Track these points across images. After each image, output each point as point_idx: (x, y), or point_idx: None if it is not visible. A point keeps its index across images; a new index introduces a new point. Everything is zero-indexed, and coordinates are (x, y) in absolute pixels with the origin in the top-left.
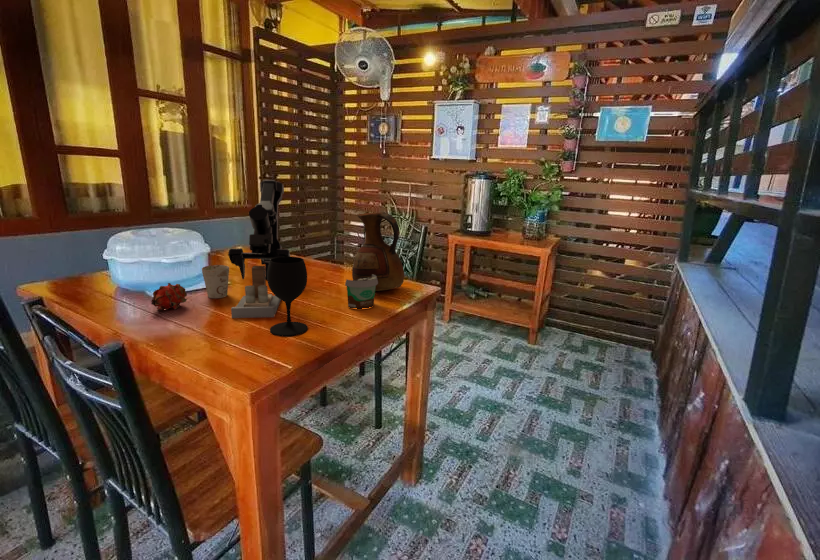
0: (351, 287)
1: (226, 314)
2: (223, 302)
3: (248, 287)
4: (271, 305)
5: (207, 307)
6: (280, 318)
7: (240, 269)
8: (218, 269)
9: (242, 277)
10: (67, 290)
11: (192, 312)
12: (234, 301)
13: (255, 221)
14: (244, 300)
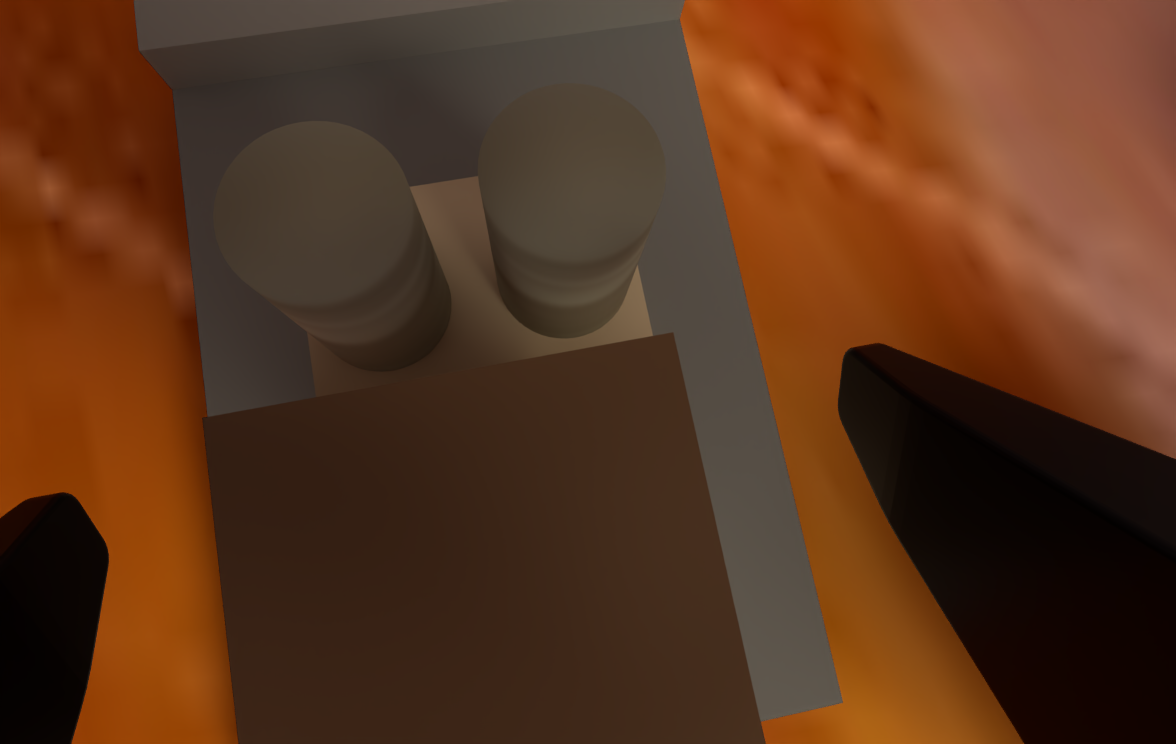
0: None
1: (768, 115)
2: None
3: (575, 114)
4: (271, 304)
5: (1102, 319)
6: (111, 50)
7: (1100, 438)
8: None
9: (866, 345)
10: None
11: (1152, 139)
12: (913, 607)
13: None
14: (727, 471)
